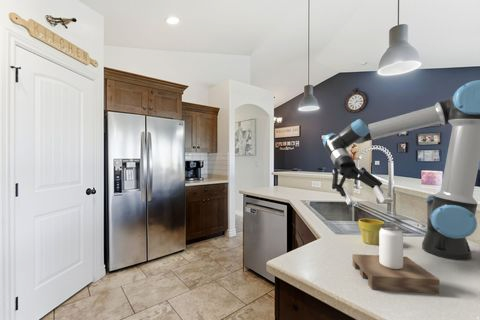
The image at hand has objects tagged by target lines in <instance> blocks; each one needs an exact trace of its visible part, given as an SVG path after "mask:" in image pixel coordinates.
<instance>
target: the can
mask: <svg viewBox="0 0 480 320" xmlns="http://www.w3.org/2000/svg"><path fill="white" fill-rule="evenodd" d="M378 247H379V248H378V251H379V252H378V254H379V262H380V264H381V265H382V266H384V267H386V268H390V269H401V268H403V256H404V233H403V232H402V228H400V227H399V226H395V225H385V224H384V226H381V229H380V231H379V244H378Z"/></svg>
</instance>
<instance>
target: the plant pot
mask: <svg viewBox="0 0 480 320" xmlns="http://www.w3.org/2000/svg"><path fill="white" fill-rule="evenodd" d="M384 225H385V222H384V221H382V220H379V219H374V218H360V219H358V228H359V229H360V232H361V233H360V235H361V239H362V243H364V244H367V245H374V246H375V245H377V246H379V231H380V229H381V226H384Z"/></svg>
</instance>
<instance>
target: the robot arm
mask: <svg viewBox="0 0 480 320" xmlns="http://www.w3.org/2000/svg"><path fill="white" fill-rule="evenodd" d="M438 124H441V125H443V126H445V125H449V124H450V125H451V134H450V138H449V144H448V149H447V154H446V160H445V165H444V170H443V175H442V181H441V185H440V186H441V187H440V191H438V192H436V193H435V194H434V195H433V194H432V195H431V194H430V195H428V196H427V199H426V204H427V207H426V210H427V215H426V216H427V219H426V222H427V224H426V225H427V227H426V228H427V229H426V233H425V236H424V238H423V240H422V243H421V247H422V248H421V249H422V250H423V251H425V252H427V253H428V254H431V255H434V256H437V257H442V258H446V259H451V260H460V261H461V260H466V261H467V260H470V259H472V250H471V248H470V245H469V243H468V241H467V237H470V236H471V235H473V234H474V233H475V231H476V229H477V227H478V222H477V217H476V212H477V208H478V207H477V206H478V201H477V200H476V199H475V198H474V197H473V196H474V191H475V187H476V180H477V177H478V171H479V166H480V79H479V80H478V79H477V80H471V81H469V82H467V83H465V84H463V85H462V86H460V87H459V88H458V89H456V90H455V92H454V94H453V96H451V97H449V98H447V99H445V100H441V101H438V102H436V103H435V104H434V105H433V106H429V107H426V108H422V109H418V110H415V111H411V112H408V113H404V114H401V115H397V116H393V117H389V118H387V119H383V120H379V121H376V122H373V123H369V124H365V122H364V121H363V120H362V119H360V118H358V119H356V120H355V121H353V122H352V123H350V124H348V126H346V127H345V128H344V129H342V130H340V132H338V133H334V132H331V133H328V134H326V135H325V136H324V138H323V139H322V144H323V146H324V149H325V151H326V152H327V154H328V156H329V158H330V159H331V161H332V163H333V165H334V166H335V167H333V169H332V172H331V174H332V182H331V183H332V185H331V188H332V190H336V192H338V193H339V194H340V196H341V197H343V198H344V201H345V202H346V204H347V206H350V205H351V204H352V203H353V201H354V200H353V198H352V196H351V195H350V192H349V191H348V189H347V188H346V186H344V183H345V181H346V179H347V180H357V181H360V182H362V183H363V184H365V185H367V186H369V187H370V188H372V192H373V193H374V195H375V196H376V198H377V199H378V201H379V203H380V204H384V203H385V202H386V201H387V197H386V196H385V195H384V191H383V190H382V188H381V187H382V185H383V182H382V181H380V180H379V179H378V178H377V177H375V176H374V175H373V174H371V173H370V172H368V170H367V169H366V168H365V167H361V168H358V167H357V165H356V162H355V160H354V159H353V157H352V156H351V154H350V153H349V151H348V148H349V147H350V146H352V145H354V143H355V144H359V145H360V144H364V143H366V142H369V141H373V140H377V139H381V138H384V137H389V136H393V135H398V134H401V133H406V132H410V131H413V130H417V129H422V128H426V127H431V126H434V125H438ZM339 175H341V176H342V177H341V179H340V181H339ZM338 182H339V183H338Z"/></svg>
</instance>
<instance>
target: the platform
mask: <svg viewBox="0 0 480 320" xmlns="http://www.w3.org/2000/svg"><path fill="white" fill-rule="evenodd" d="M352 267H353V268H354V269H355V270H359V275H360V277H361V278H362V279H367V286H368V287H369V288H370V289H371V290H380V291H393V292H395V291H398V292H410V293H411V292H415V293H427V292H434V293H433V294H439V293H440V284H441V283H440V282H441V281H440V280H441V279H440V278H439V277H437V276H435V275H434V274H432V273H431V272H429V271H428V270H427V269H425V268H423V267H422V266H421V265H419V264H418V263H416V262H415V261H414V260H413V259H411V258H409V257H408V256H404V255H403V268H401V269H390V268H386V267H384V266H382V265H381V264H380V262H379V255H378V254H376V255H375V254H357V253H356V254H353V253H352Z"/></svg>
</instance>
